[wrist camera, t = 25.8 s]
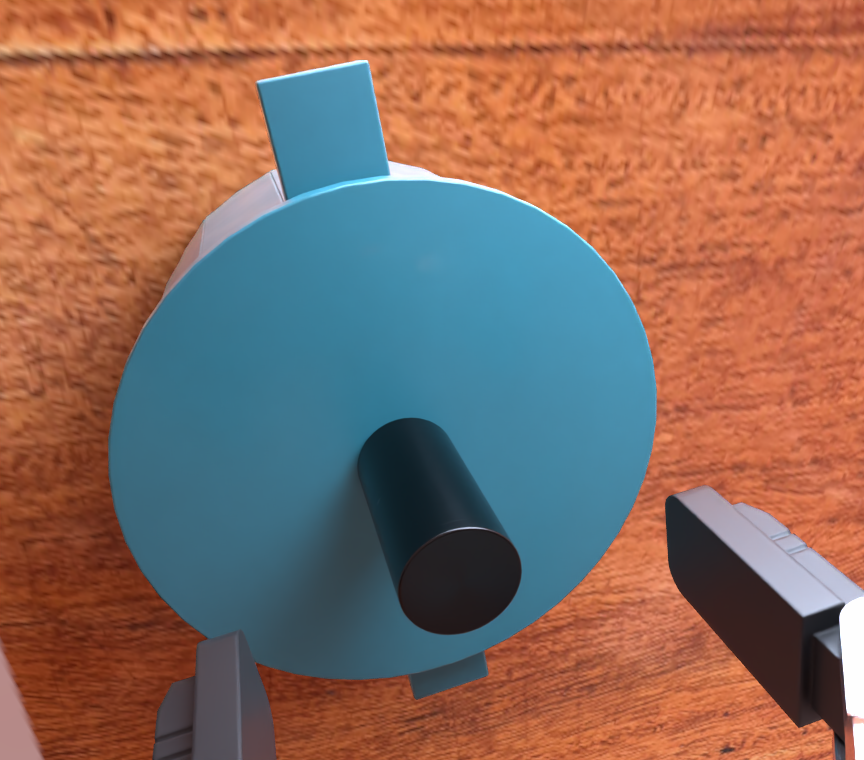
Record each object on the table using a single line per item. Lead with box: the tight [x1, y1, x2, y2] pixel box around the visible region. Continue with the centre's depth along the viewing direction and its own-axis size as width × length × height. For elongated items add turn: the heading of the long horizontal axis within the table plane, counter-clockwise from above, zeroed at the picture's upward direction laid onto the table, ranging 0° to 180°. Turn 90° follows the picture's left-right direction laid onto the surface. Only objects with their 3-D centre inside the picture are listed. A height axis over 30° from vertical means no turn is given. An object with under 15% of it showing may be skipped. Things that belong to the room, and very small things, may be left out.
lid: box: [108, 175, 657, 680], centre depth 17 cm, size 13×13×6 cm
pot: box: [163, 60, 488, 700], centre depth 23 cm, size 12×18×8 cm
